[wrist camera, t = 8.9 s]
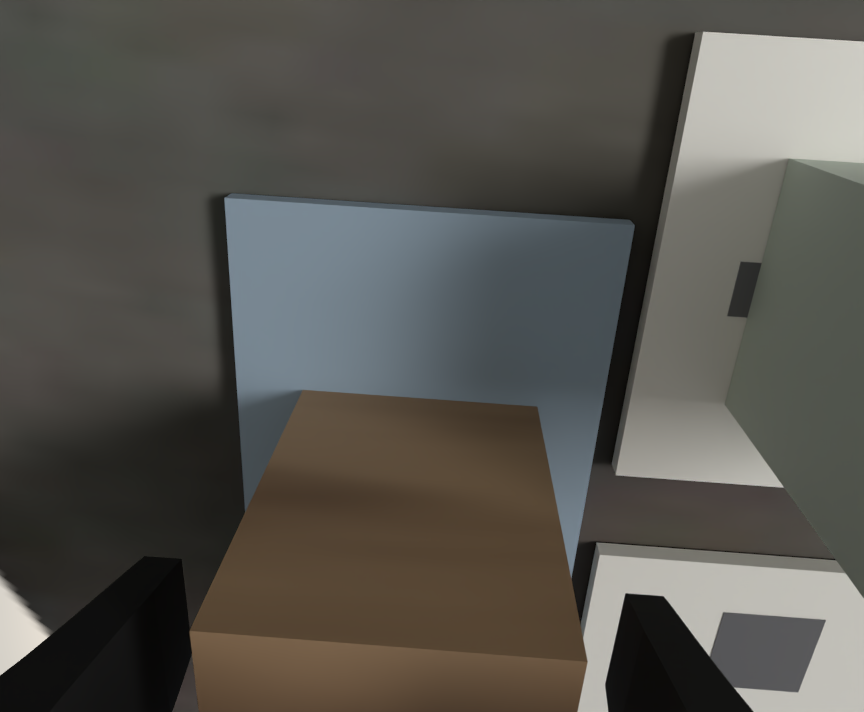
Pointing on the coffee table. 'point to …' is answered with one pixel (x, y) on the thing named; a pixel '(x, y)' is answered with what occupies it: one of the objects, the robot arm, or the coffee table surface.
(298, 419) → the walnut block
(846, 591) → the white tile
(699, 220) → the white flat square
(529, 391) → the slate mat
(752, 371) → the sage green block
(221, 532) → the coffee table surface
